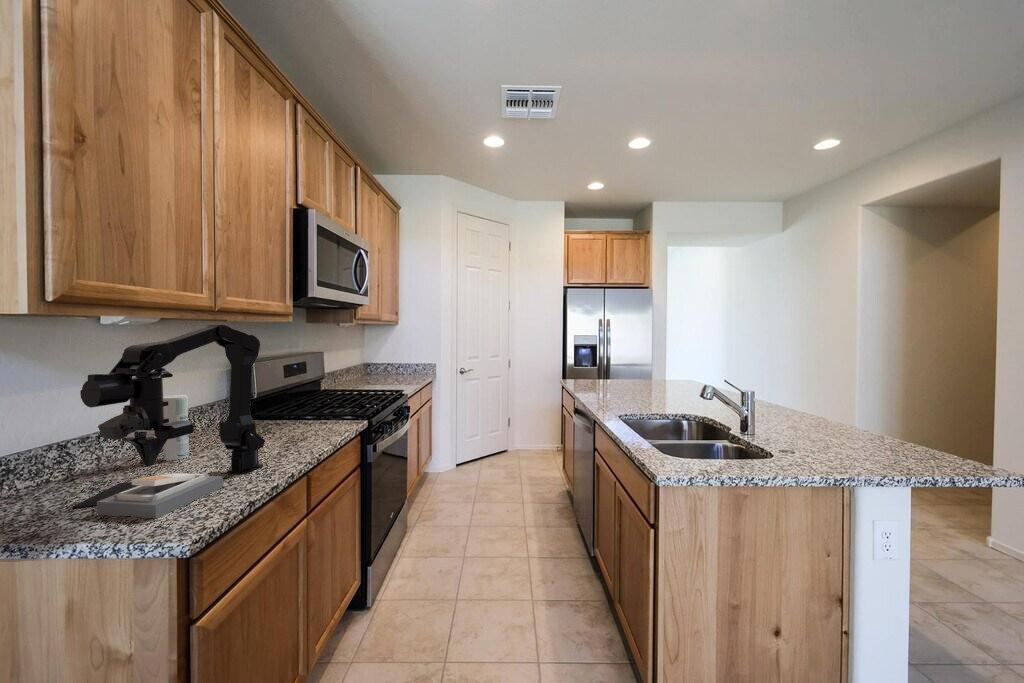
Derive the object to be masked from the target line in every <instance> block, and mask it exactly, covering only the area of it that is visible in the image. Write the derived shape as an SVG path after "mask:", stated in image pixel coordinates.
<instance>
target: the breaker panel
mask: <svg viewBox="0 0 1024 683" xmlns="http://www.w3.org/2000/svg"><path fill="white" fill-rule="evenodd" d="M181 473H182V474H195V478H194V479H192V480H186V481H181V482H175V483H169V484H164V485H158V486H141V485H140V486H137V487H134V488H132V489H129V490H126V491H123V492H121V493H118V494H115V495H114V496H111V497H108V498H105V499H103V500H100V501H97V507H96V515H97V514H98V515H97V516H104V515H114V516H113V517H120V516H131V517H130V518H136V517H141V519H151V518H155V520H156V518H157V519H159V518H161V517H163V516H165V515H167V514H169V512H170V513H171V511H172V512H174V511H176V510H178V509H180V508H182V506H183V507H184V505H185V506H187V505H189V504H191V503H193V502H195V501H197V500H196V499H198V498H200V499H202V498H203V497H202V496H204V497H205V495H206V496H208V495H210V494H209V493H211V492H213V491H215V492H217V491H219V490H221V489H223V488H224V476H220V475H210V474H209V473H208V474H207V473H190V472H189V473H188V472H181ZM222 487H223V488H222ZM220 488H221V489H220ZM218 489H219V490H218ZM216 490H217V491H216ZM213 493H214V492H213ZM207 494H208V495H207ZM211 494H212V493H211ZM201 497H202V498H201ZM194 500H195V501H194ZM198 500H199V499H198ZM192 501H193V502H192ZM190 502H191V503H190ZM188 503H189V504H188ZM186 504H187V505H186ZM175 509H176V510H175ZM173 510H174V511H173ZM160 516H161V517H160ZM158 517H159V518H158Z"/></svg>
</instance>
